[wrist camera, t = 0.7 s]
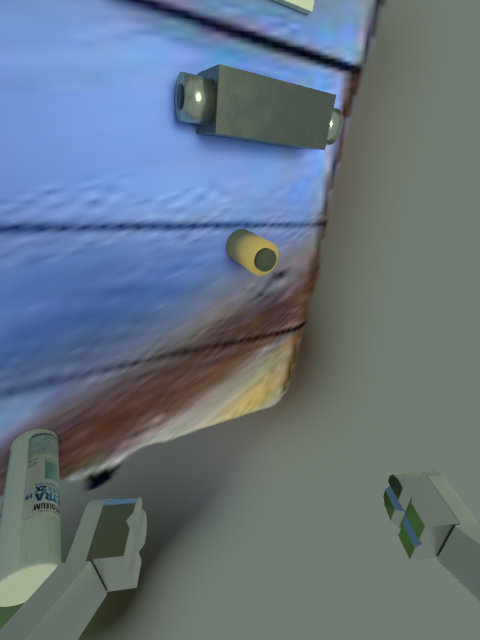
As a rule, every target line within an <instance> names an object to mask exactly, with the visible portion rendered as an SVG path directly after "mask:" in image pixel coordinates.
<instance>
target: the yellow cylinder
mask: <svg viewBox="0 0 480 640" xmlns="http://www.w3.org/2000/svg"><path fill="white" fill-rule="evenodd" d="M226 250H227V253H228V255H229V256H230V257H231V258H232V259H233V260H235V261H236V262H238V263H239V264H241V265H242V266H243V267H245V268H246V269H248V270H249V271H251V272H252V273H253V274H255V275H258V276H263V275H266V274H268V273H270V272H271V271H272V270H273V269H274V268H275V266H276V264H277V262H278V258H279V252H278V249H277V247H276V245H275V244H273V243H272V242H270V241H268V240H266V239H264V238H262V237H260V236H258V235H256V234H254V233H252V232H250V231H248V230H245V229H239V230H236V231H235V232H233V233H232V234H231V235H230V236H229V238H228V240H227V244H226Z"/></svg>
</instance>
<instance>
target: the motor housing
mask: <svg viewBox="0 0 480 640" xmlns="http://www.w3.org/2000/svg"><path fill="white" fill-rule="evenodd" d="M335 98H336V95H334V94H330V93H326V92H323V91H319V90H315V89H311V88H308V87H304V86H300V85H296V84H293V83H289V82H285V81H281V80H277V79H274V78H270V77H266V76H262V75H259V74H255V73H251V72H247V71H244V70H240V69H236V68H232V67H228V66H225V65H221V64H219V65H216V66H214V67H212V68H209V69H207V70H204V71H202V72H200V73H198V75H194V74H190V73H186V72H180V74H179V76H178V79H177V83H176V89H175V109H176V115H177V118H178V120H179V121H183V122H189V123H195V124H197V128H196V133H198V134H205V135H211V136H218V137H225V138H232V139H239V140H245V141H252V142H259V143H266V144H273V145H279V146H286V147H293V148H303V149H321V150H325V146H326V145H331V144H333V143H334V142H335V141H336V140H337V139H338V137H339V135H340V133H341V131H342V128H343V114H342V112H341V111H340V110H339V109H337V108H334V103H335Z"/></svg>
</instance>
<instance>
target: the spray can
mask: <svg viewBox="0 0 480 640" xmlns="http://www.w3.org/2000/svg"><path fill="white" fill-rule="evenodd" d="M59 564H61V535H60V494H59V454H58V438H57V436H56V434H55V433H54V432H52V431H50V430H47V429H33V430H29V431H26V432H24V433H22V434H20V435H19V436H18V437H16V438H15V440H14V441H13V442H12V445H11V448H10V454H9V460H8V467H7V474H6V480H5V487H4V494H3V500H2V507H1V514H0V607H7V606H13V605H17V604H21V603H24V602H26V601H27V600H28V599H29V598H30V597H31V596H32V595H33V593H34V592H35V591H36V590H37V589H38V588H39V587H40V586H41V584H42V583H43V582H44V581H45V580H46V579H47V578H48V577H49V576H50V574H51V573H52V572H53V571H54V570H55V569H56V568H57V567H58V566H59Z"/></svg>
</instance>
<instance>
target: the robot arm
mask: <svg viewBox="0 0 480 640" xmlns="http://www.w3.org/2000/svg"><path fill="white" fill-rule="evenodd" d="M388 482H389V484H390V486H389V487H388V488H386V489H385V492H384V503H385V504H384V505H385V508H386V511H387V513H388V515H389V518H390V520H391V521H392V522H393V523H394V524H396V525H397V526H398V527H399V533H398V536H399V538H400V540H401V542H402V544H403V547H404V548H405V550H406V553H407V555H408V557H409V559H424V558H437V560H438V561H439V562H440V563H441V564H442V565H443V566H444V567H445V568H446V569H447V570H448V571H449V572H450V573H451V574H452V575H453V576H454V577H456V578H457V579H458V580H459V582H461V583H462V584H463V585H464V586H465V587H466V588H467V589H468V590H469V591H470V592H471V593H472V594H473V595H474V596H475V597H476V598H477V599H478V600H479V601H480V523H477V522H476V521H475V519H474V518H473V517H472V515H471V514H470V512H469V511H468V510H467V508H466V507H465V505H464V504H463V503H462V501H461V500H460V498H459V497H458V496H457V494H456V493H455V492H454V490H453V489H452V488H451V486H450V485H449V483H448V482H447V481H446V479H445V478H444V476H443V475H442V474H441V473H440V472H438V471H435V470H434V471H423V472H411V473H402V474H392V475H391V476H389V480H388ZM141 508H142V500H141V498H140V497H133V498H121V499H110V500H109V499H106V500H96V501H90V502H89V504H88V505H87V507H86V508H85V511H84V514H83V517H82V519H81V522H80V525H79V528H78V530H77V533H76V536H75V538H74V541H73V544H72V547H71V549H70V552H69V555H68V557H67V560H66V563H61V564H59V566H58V567H57V568H56V569H55V570H54V571H53V572H52V573H51V574H50V576H49V577H48V578H47V579H46V580H45V581H44V582H43V583H42V584H41V586H40V587H39V588H38V589H37V590H36V591H35V592H34V593H33V595H32V596H31V597H30V598H29V599H28V600H27V601H26V602H25V604H24V605H23V606H22V607H21V608H20V609H19V610H18V611H17V612H16V614H15V615H14V616H13V617H12V618H11V619H10V620H9V621H8V622H7V624H6V625H5V626H4V627H3V628H2V629H1V630H0V640H78V638H79V637H80V635H81V634H82V632H83V630H84V629H85V627H86V626H87V624H88V623H89V621H90V620H91V618H92V616H93V615H94V613H95V612H96V610H97V609H98V607H99V606H100V604H101V603H102V601H103V600H104V598H105V596H106V595H107V591H115V590H122V589H129V588H136V587H137V582H138V577H139V571H140V565H141V558H140V555H139V551H140V549H141V548H142V546H143V545H144V544H145V538H146V529H147V518H146V513H145V511H144V510H142V509H141Z"/></svg>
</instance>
